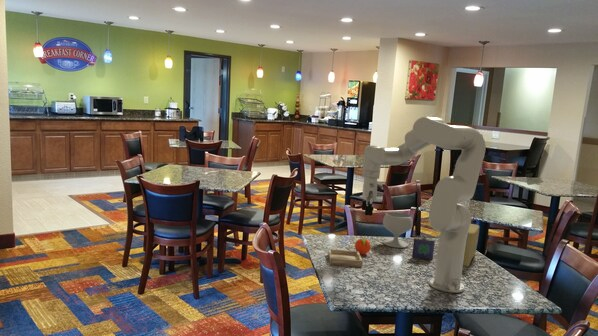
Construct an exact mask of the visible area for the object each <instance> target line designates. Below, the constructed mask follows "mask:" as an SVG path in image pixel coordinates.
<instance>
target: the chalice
mask: <svg viewBox="0 0 598 336" xmlns="http://www.w3.org/2000/svg"><path fill="white" fill-rule="evenodd" d="M382 225H383V227H384V228H385V229H386V230H388V232H391V234H393V239H387V240H386V239H385V240H384V241H383V242H382V244H383V245H385V246H388V247H390V248H396V249H403V248H404V249H405V248H408V247H409V244H407V243H406V242H404V241H400V240H399V236H401V235H403V234H405V233H407V232H409V231H411V229H412V228H413V218H412V216H411V215H410V214H408V213H405V212H399V211H388V212H386V213H385V215H384V217H383V220H382Z"/></svg>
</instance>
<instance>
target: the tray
mask: <svg viewBox="0 0 598 336" xmlns="http://www.w3.org/2000/svg"><path fill="white" fill-rule="evenodd" d="M327 256H328V259H329V260H328V261H329V263H330V264H329V265H330V266H344V267H354V268H355V267H357V268H358V267H360V268H363V266H364V265H363V263H364V262H363V261H364V260H363V259H362V256H361V254H360V253H359V251H356V250H345V249H331V248H328V253H327Z"/></svg>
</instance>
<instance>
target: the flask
mask: <svg viewBox="0 0 598 336" xmlns="http://www.w3.org/2000/svg"><path fill="white" fill-rule="evenodd" d="M435 242H436V240H435V239H433V238H431V239H430V238H428V236H427V235H425V234H424V235H423V236H422V237H419V236H418V237H414V238H413V247H412V255H411V257H412V258H411V259H416V260H417V259H418V260H424V261H426V260H427V261H428V260H429V261H433V259H434V252H435V244H436V243H435Z"/></svg>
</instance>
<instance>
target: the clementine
mask: <svg viewBox="0 0 598 336" xmlns="http://www.w3.org/2000/svg"><path fill="white" fill-rule="evenodd" d="M354 249H355V251H359V254H360V255H366V254H368V253H369V252H370V250H371V243H370V241H369V240H368V239H366V238H359V239H357V240H356V241H355V244H354Z"/></svg>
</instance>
